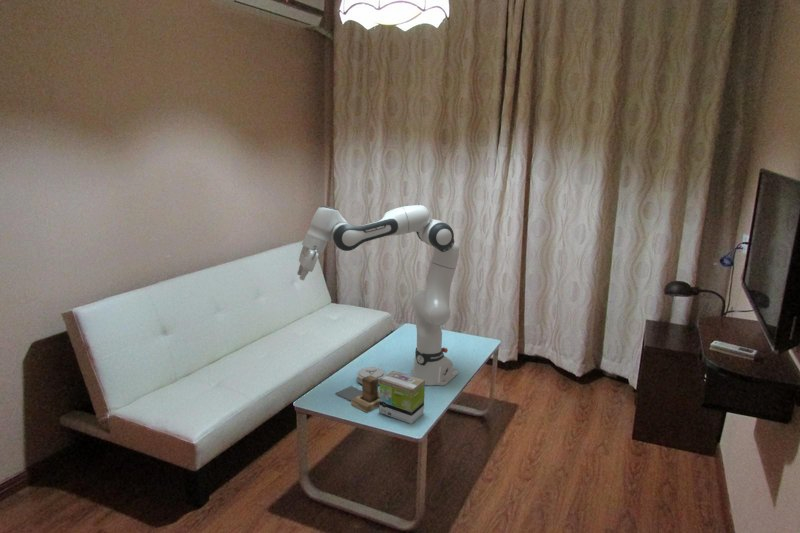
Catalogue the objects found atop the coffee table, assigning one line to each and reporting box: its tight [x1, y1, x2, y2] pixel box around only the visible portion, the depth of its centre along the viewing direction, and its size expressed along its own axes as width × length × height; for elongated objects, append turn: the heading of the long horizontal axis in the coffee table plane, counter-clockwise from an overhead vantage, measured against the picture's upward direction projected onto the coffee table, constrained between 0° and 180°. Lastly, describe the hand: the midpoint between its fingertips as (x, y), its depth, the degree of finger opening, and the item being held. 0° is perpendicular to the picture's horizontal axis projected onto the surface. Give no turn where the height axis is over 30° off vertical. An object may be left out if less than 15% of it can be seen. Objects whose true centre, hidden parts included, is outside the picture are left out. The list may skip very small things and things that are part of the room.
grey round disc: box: [356, 366, 387, 386], centre depth 230 cm, size 13×13×5 cm
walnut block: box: [361, 375, 379, 403], centre depth 209 cm, size 4×4×11 cm
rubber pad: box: [334, 385, 362, 402], centre depth 218 cm, size 9×9×1 cm
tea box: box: [378, 370, 426, 425], centre depth 201 cm, size 15×10×15 cm
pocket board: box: [350, 391, 380, 414], centre depth 210 cm, size 12×9×2 cm
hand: (300, 277), depth 204 cm, fingers open, 8 cm apart
